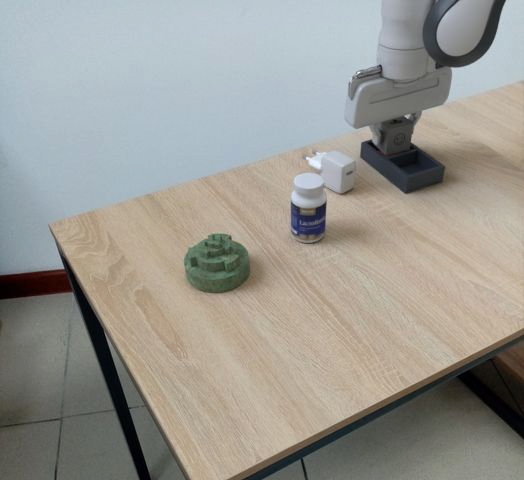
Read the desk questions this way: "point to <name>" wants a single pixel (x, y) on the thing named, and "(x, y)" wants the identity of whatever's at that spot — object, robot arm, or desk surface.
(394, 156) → the compartment tray
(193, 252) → the decorative artifact
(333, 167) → the power adapter
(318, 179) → the pill bottle
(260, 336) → the desk surface
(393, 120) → the dice cube
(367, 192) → the desk surface
